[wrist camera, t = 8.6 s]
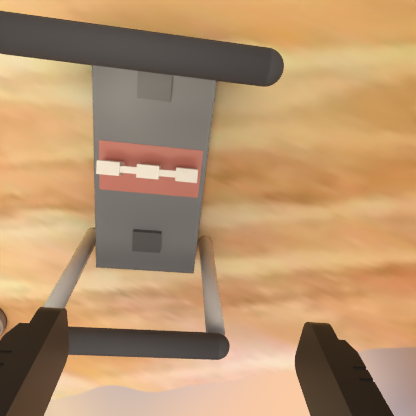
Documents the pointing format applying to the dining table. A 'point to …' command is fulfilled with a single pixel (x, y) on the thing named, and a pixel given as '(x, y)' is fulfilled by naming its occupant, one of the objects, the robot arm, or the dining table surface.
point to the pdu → (149, 181)
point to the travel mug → (2, 322)
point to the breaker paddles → (146, 171)
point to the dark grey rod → (147, 343)
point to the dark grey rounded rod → (137, 50)
